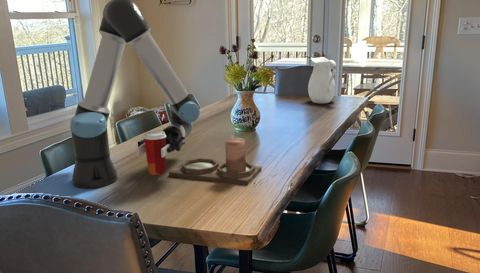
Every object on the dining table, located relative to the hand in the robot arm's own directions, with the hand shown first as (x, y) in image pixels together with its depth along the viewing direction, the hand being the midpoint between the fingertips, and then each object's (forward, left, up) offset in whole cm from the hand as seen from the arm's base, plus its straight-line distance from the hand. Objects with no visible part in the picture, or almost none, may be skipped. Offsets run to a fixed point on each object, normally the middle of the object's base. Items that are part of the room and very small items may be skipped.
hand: (150, 152), depth 147 cm
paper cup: (+5, +1, -9) cm, 10 cm away
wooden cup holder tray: (+19, -15, -12) cm, 27 cm away
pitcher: (+158, -29, -12) cm, 161 cm away
